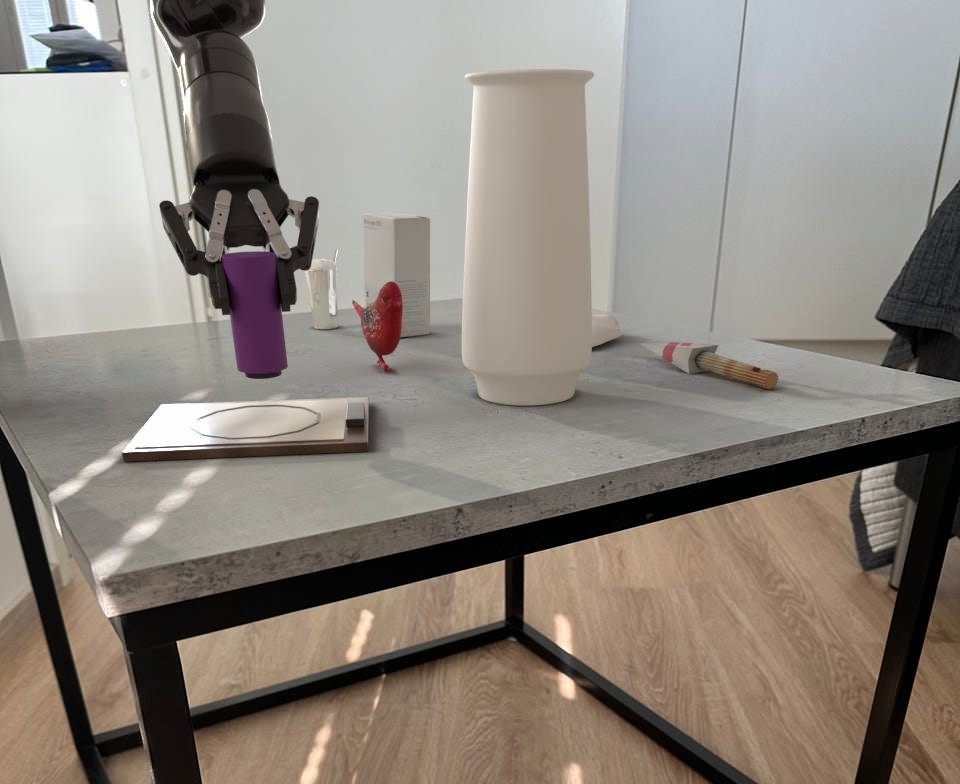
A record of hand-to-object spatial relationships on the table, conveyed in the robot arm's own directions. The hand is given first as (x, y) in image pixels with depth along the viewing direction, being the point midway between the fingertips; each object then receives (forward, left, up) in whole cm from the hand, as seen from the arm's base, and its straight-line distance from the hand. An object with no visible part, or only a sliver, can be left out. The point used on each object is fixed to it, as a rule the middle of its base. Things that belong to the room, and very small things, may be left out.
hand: (256, 306), depth 78 cm
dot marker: (0, +2, -6) cm, 6 cm away
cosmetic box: (+13, +49, -11) cm, 52 cm away
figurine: (+32, +40, -11) cm, 52 cm away
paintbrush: (+46, +18, -11) cm, 50 cm away
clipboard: (-1, +1, -11) cm, 11 cm away
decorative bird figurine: (+10, +27, -11) cm, 31 cm away
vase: (+25, +11, -11) cm, 29 cm away
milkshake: (+3, +55, -11) cm, 56 cm away
